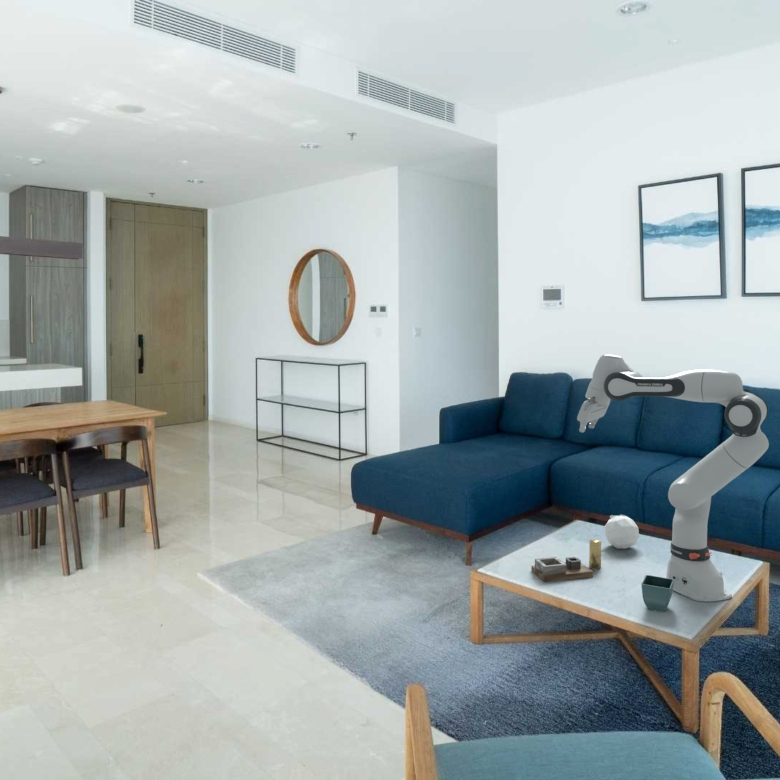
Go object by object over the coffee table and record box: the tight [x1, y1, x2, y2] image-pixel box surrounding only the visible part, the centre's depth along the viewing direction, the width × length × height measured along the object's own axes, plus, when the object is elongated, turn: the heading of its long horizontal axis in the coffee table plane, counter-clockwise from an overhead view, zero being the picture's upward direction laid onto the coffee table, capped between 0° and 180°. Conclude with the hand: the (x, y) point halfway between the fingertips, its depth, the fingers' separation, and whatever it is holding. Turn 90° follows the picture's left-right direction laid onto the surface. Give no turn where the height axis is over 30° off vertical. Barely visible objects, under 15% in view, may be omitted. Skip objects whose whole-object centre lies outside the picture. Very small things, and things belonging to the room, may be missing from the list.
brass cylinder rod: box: [588, 538, 602, 570], centre depth 258 cm, size 4×4×10 cm
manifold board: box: [530, 556, 594, 583], centre depth 252 cm, size 11×19×5 cm, turn 102°
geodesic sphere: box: [603, 513, 640, 550], centre depth 279 cm, size 14×14×14 cm
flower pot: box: [641, 574, 674, 613], centre depth 221 cm, size 9×9×9 cm
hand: (586, 429), depth 258 cm, fingers open, 8 cm apart
